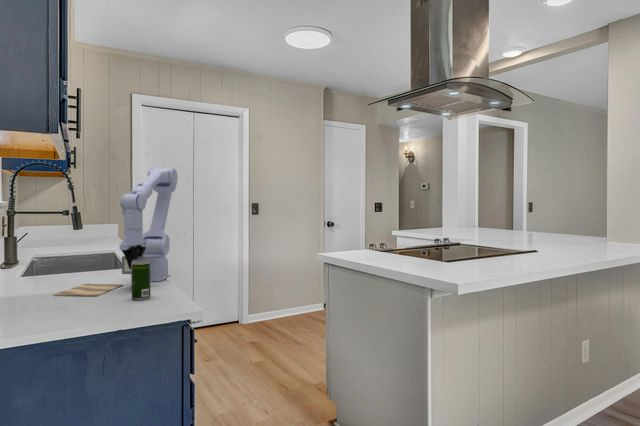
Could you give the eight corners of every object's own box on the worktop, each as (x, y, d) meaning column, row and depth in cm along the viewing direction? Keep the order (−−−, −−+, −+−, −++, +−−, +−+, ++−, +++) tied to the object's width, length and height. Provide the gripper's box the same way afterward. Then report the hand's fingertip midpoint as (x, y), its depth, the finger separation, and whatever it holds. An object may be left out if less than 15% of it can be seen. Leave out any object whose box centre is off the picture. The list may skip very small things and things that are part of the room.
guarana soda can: (154, 297, 126) (154, 259, 126) (139, 301, 121) (139, 261, 121) (142, 295, 129) (142, 258, 128) (127, 299, 124) (127, 260, 123)
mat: (85, 284, 143) (85, 283, 143) (123, 285, 143) (123, 284, 143) (53, 295, 128) (53, 294, 127) (96, 296, 127) (96, 295, 127)
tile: (124, 273, 139) (124, 256, 139) (146, 273, 139) (146, 256, 139) (121, 274, 138) (121, 256, 138) (144, 274, 137) (144, 257, 137)
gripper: (133, 227, 145) (133, 264, 146) (110, 230, 131) (110, 272, 131) (152, 227, 145) (152, 264, 145) (131, 230, 130) (132, 272, 131)
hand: (134, 268), depth 138 cm, fingers closed on tile, 1 cm apart
